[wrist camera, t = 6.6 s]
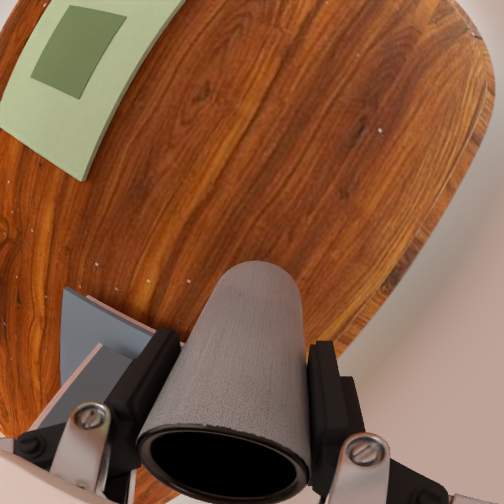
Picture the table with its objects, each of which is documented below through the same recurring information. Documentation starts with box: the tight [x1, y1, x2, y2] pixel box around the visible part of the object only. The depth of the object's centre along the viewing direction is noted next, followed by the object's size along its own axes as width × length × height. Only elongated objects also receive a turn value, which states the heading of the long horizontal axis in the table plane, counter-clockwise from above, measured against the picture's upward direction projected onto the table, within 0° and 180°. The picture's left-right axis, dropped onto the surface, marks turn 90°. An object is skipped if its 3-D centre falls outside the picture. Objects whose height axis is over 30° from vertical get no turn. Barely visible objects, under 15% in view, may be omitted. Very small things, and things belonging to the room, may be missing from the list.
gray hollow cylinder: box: [136, 261, 311, 504], centre depth 11 cm, size 4×4×10 cm
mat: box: [0, 0, 186, 182], centre depth 16 cm, size 18×14×1 cm
